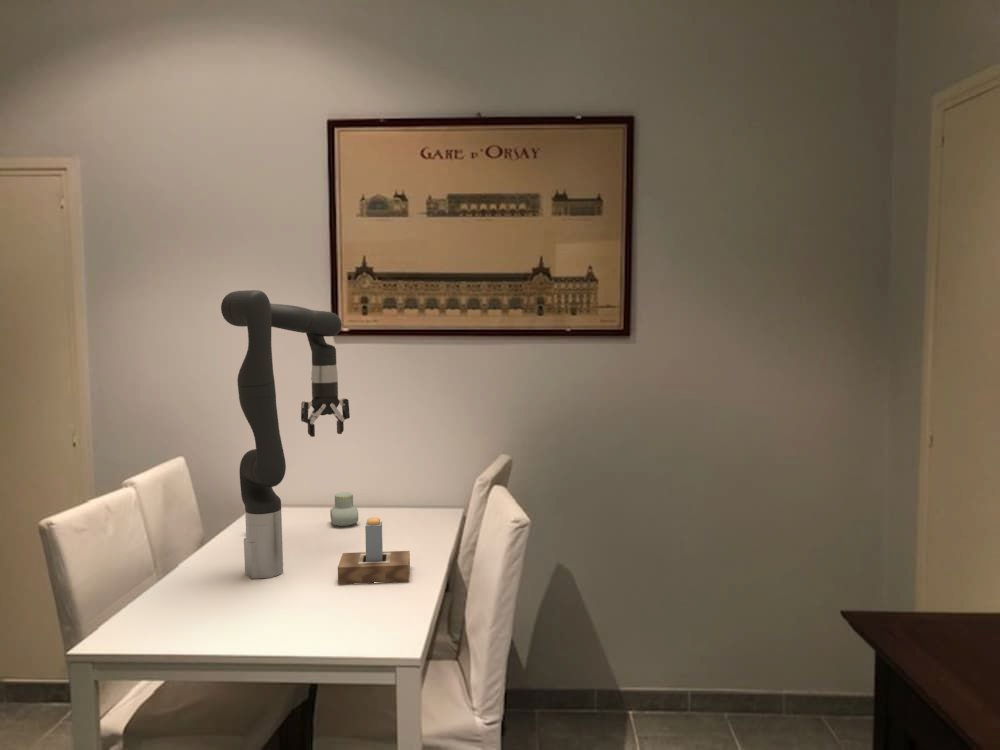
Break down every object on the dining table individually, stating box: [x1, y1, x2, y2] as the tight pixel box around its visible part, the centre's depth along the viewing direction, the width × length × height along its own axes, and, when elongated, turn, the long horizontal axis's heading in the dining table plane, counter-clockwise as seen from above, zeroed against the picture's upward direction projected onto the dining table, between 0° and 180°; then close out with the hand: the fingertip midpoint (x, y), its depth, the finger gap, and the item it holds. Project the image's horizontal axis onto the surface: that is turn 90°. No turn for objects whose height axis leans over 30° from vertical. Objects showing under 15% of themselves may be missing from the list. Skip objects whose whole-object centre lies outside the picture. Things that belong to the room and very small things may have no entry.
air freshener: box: [329, 491, 359, 527], centre depth 261 cm, size 11×8×10 cm
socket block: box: [337, 550, 411, 585], centre depth 211 cm, size 18×12×5 cm, turn 95°
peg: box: [364, 517, 384, 562], centre depth 211 cm, size 4×4×15 cm
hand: (326, 435), depth 236 cm, fingers open, 8 cm apart
